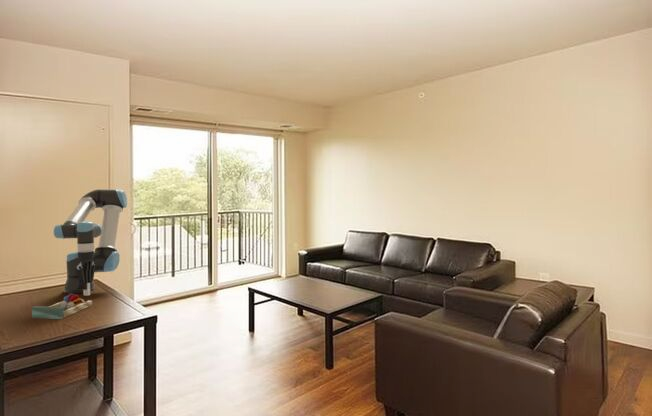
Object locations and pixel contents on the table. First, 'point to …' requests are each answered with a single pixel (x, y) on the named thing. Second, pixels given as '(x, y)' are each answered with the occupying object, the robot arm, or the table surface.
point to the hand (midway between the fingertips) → (86, 295)
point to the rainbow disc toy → (71, 301)
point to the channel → (57, 310)
